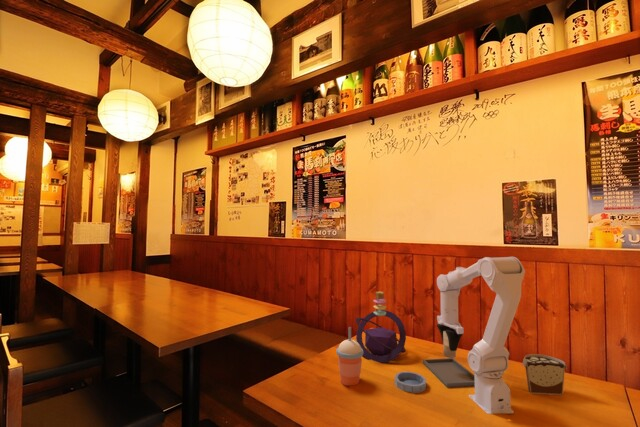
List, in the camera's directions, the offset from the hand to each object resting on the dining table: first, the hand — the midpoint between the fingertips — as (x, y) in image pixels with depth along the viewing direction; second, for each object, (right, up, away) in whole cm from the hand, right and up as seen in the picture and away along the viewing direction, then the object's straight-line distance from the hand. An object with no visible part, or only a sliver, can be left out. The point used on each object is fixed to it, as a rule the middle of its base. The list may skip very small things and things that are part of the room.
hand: (449, 347), depth 110 cm
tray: (0, -9, 0) cm, 9 cm away
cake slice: (+25, -9, -10) cm, 28 cm away
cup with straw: (-36, -9, -5) cm, 37 cm away
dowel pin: (0, -3, 0) cm, 3 cm away
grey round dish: (-16, -9, -8) cm, 20 cm away
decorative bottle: (-21, -10, +18) cm, 29 cm away
